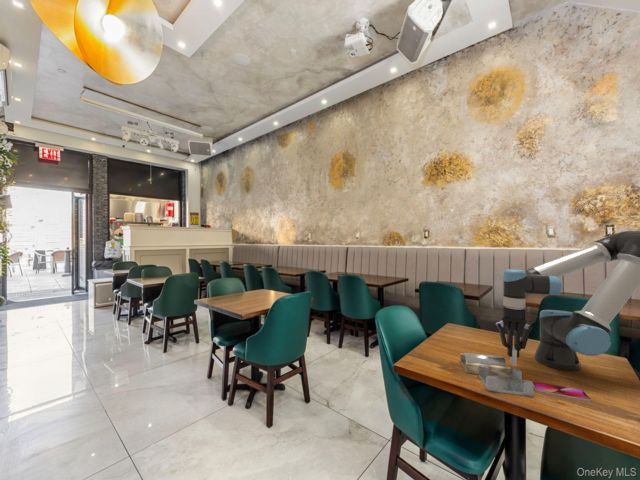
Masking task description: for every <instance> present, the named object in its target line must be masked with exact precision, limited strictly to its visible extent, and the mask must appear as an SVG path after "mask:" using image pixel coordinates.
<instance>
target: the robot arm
mask: <svg viewBox="0 0 640 480" xmlns="http://www.w3.org/2000/svg"><path fill="white" fill-rule="evenodd" d="M612 261H618V262H617V263H616V264H615V266H613V268H612V270H611V271H610V272H609V273H608V275H607V276H606V278H605V279H604V280H603V281H602V283H601V284H600V285H599V286H598V288H597V289H596V291H595V292H594V293H593V295H591V297H590V298H589V299H588V301H587V302H586V303H585V305H584V306H583V307H582V308H581V310H575V311H573V312H572V311H567V310H555V309H543V310H541V311H540V312H539V344H537V345H538V346H537V348H536V350H535V352H534V359H535V361H537V362H538V363H540V364H543V365H545V366H547V367H550V368H553V369H557V370H564V371H579V370H580V368H581V361H580V358H579V357H578V355H577V353H579V354H580V355H584V356H586V357H587V356H589V357H594V356H596V357H597V356H600V355H603V354H605V353H606V352H607V351H608V350H609V349H610V348H611V344H612V342H611V336H610V335H609V334H610V333H611V332H612V328H611V326H610V324H611V322H612V321H613V320H614V318H615V317H616V316H617V315H618V313H620V311H621V310H622V308H623V307H624V306H625V305H626V303H627V302H628V300H630V298H631V297H632V295H633V294H634V293H635V292H636V290H637V289H638V288H639V287H640V230H627V231H626V230H625V231H620V232H617V233H613V234H610V235H608V236H606V237H602V238H600V239H598V240H595V241H593V242H590V244H589V246H586V247H583V248H581V249H579V250H576V251H574V252H570V253H569V254H566V255H563V256H561V257H558V258H555V259H552V260H550V261H547V262H545V263H541V264H539V265H536V266H534V267H532V268H529V269H526V270H523V269H512V268H508V269H505V270H504V272H503V278H502V283H503V285H502V286H503V295H502V296H503V297H502V298H503V299H502V302H503V303H502V304H503V306H502V318H501V320H500V321H496V322H495V326H496V327H497V329H498V332H499V337H500V341H501V345H502V346H504V347H505V348H506V349H507V352H506V353H507V356H508V357H509V364H510V365H511V366H512V367H517V365H518V364H517V362H518V359H519V358H520V351H521V350H525V349H526V346H527V344H528V343H527V342H528V339H529V338H530V334H531V332H532V330H533V329H534V327H533V326H532V325H530V324H528V323H527V320H526V301H527V300H526V297H527V294H528V295H529V294H531V295H533V294H535V295H548V296H550V295H555V296H556V295H559V294H560V293H561V292H562V289H563V282H562V280H561V279H560V278H561V277H563V276H566V275H567V276H568V275H569V274H572V273H574V272H575V273H576V272H577V271H580V270H582V269H583V270H584V269H586V268H588V267H591V266H594V265H597V264H600V263H605V264H606V263H609V262H612ZM504 326H505V328H506V331H507V332H506V333H507V334H506V333H505V330H504ZM522 329H523V330H522Z"/></svg>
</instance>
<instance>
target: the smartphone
mask: <svg viewBox="0 0 640 480" xmlns="http://www.w3.org/2000/svg"><path fill="white" fill-rule="evenodd" d="M531 382H532V383H533V389H534V390H535V391H537V393H543V394H547V395H554V396H559V397H564V398H569V399H574V400H579V401H584V402H591V398H590V396H589V395H588V394H587V393H586V392H585V391H584V390H582V389H580V388H575V387H569V386H563V385H558V384H552V383H546V382H539V381H531Z"/></svg>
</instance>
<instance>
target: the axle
mask: <svg viewBox="0 0 640 480" xmlns="http://www.w3.org/2000/svg"><path fill="white" fill-rule="evenodd" d="M464 353H465V354H464V362H469V363H479V364H488V365H497V366H506V367H507V362H506V359H505V357H504V356H503V355H494V354H493V355H492V354H485V353H484V354H482V353H472V352H464Z"/></svg>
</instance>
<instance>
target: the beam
mask: <svg viewBox="0 0 640 480" xmlns="http://www.w3.org/2000/svg"><path fill="white" fill-rule="evenodd" d="M465 353H466V352H464V353H463V352H459V362H460V363H461V366H462V368H463V370H464V371H465V373H466V374H473V375H474V374H475V375H479V365H485V366H488V367H489V375H495V376H504V377H510V368H511V367H510V366H507V365H506V366H497V365H488V364H479V363H469V362H464V354H465Z"/></svg>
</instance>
